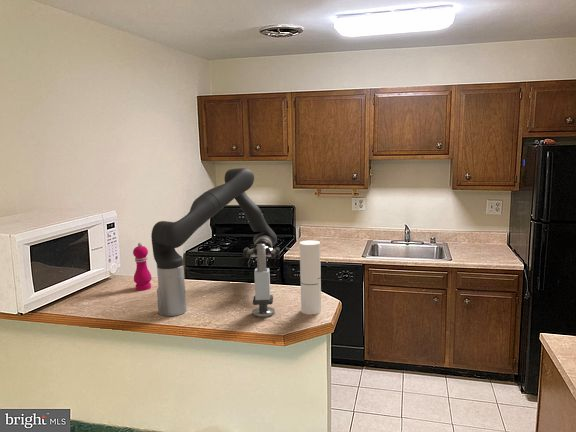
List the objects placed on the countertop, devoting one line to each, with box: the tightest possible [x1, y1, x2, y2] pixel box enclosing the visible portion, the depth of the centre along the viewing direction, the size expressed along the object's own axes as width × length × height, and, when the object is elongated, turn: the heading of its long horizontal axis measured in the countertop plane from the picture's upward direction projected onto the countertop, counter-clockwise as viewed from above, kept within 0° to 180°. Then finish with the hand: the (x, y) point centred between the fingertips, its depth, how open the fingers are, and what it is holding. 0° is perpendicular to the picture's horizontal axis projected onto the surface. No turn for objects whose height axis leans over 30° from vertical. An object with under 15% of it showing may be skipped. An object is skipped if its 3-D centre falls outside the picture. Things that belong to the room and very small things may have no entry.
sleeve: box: [253, 267, 271, 300], centre depth 158 cm, size 5×5×10 cm
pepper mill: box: [132, 242, 152, 291], centre depth 191 cm, size 7×7×20 cm
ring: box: [252, 294, 274, 306], centre depth 159 cm, size 7×7×2 cm
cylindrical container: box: [299, 239, 322, 316], centre depth 159 cm, size 7×7×25 cm
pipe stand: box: [251, 244, 276, 319], centre depth 158 cm, size 8×8×25 cm
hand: (260, 256), depth 170 cm, fingers open, 8 cm apart
